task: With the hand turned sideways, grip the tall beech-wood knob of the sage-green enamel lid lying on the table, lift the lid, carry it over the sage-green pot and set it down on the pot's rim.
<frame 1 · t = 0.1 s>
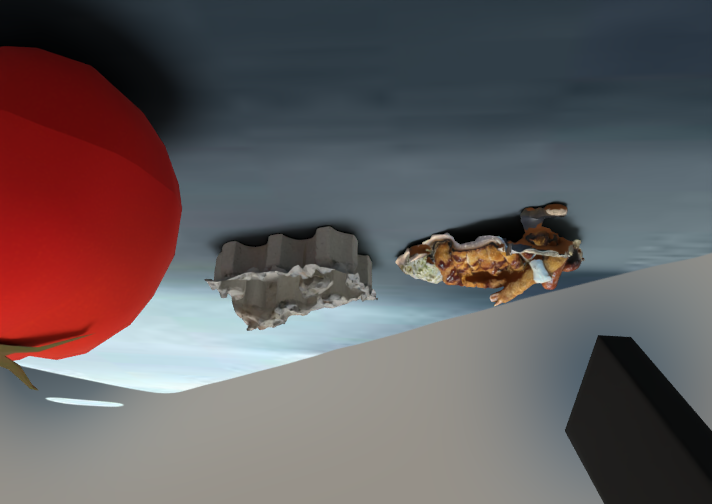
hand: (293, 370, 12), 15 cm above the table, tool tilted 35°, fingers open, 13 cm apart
egg carton: (294, 252, 41), on the table
tomato: (62, 86, 26), on the table
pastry: (485, 244, 39), on the table
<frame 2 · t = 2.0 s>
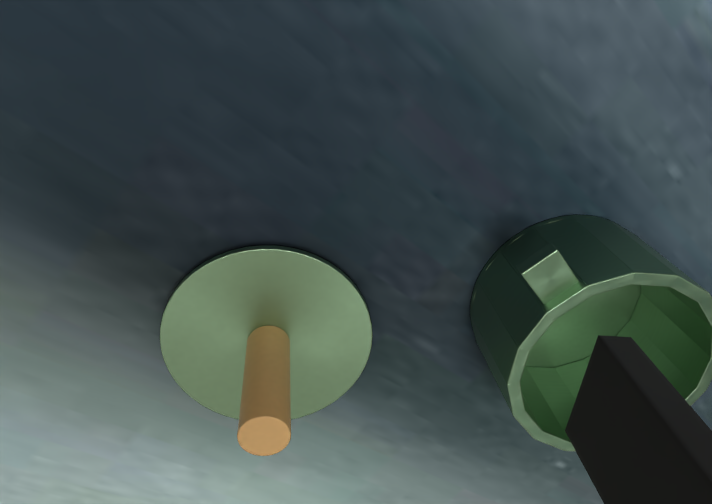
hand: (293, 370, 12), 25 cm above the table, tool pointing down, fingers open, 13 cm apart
lid: (268, 337, 41), point 1 cm above the table
pot: (558, 298, 43), on the table
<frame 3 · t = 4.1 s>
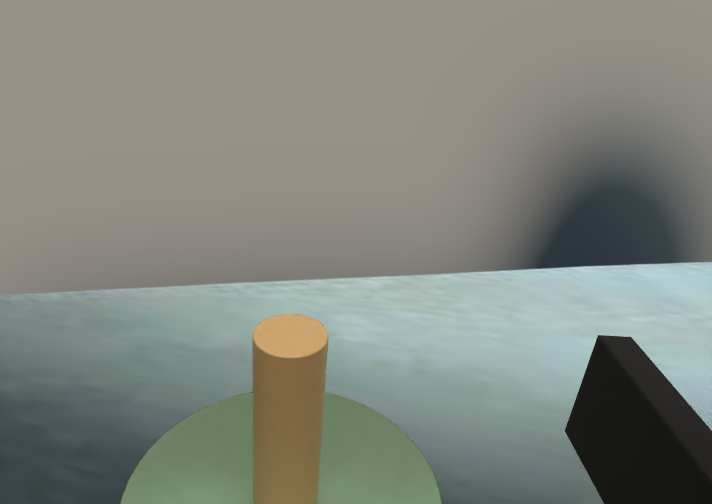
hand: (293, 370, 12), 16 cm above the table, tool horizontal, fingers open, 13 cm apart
lid: (285, 502, 27), point 1 cm above the table
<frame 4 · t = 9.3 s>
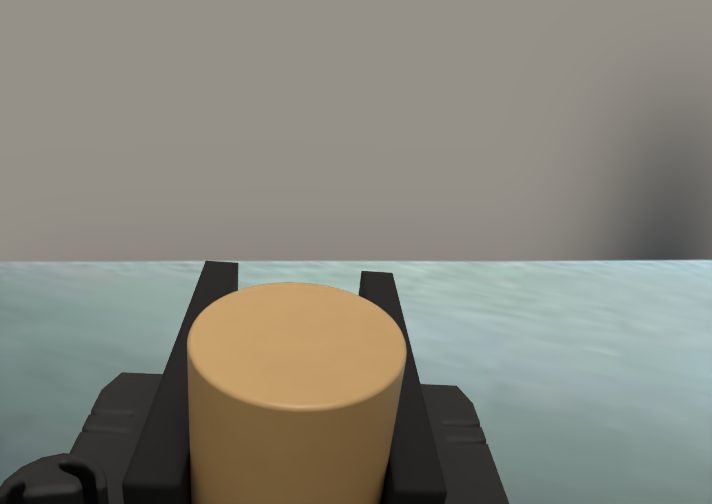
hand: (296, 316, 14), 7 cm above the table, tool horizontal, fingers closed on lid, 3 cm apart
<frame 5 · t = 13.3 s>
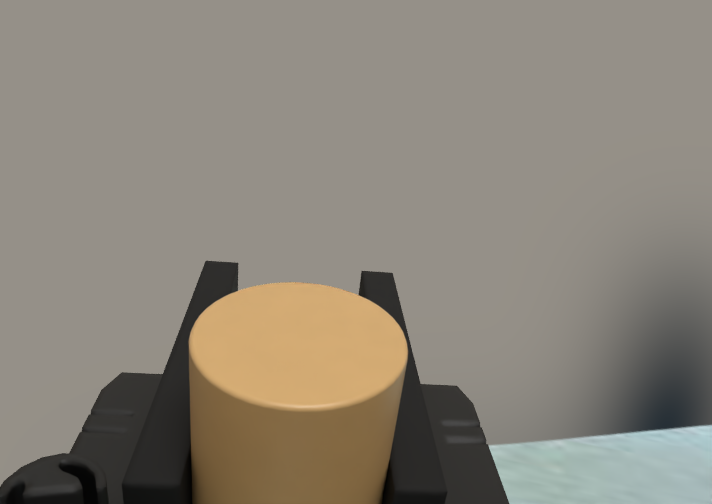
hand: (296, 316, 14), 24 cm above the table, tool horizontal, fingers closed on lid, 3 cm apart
when the fingers open (15 cm above the table, at t = 17.7 s): lid stays where it is, resting on pot.
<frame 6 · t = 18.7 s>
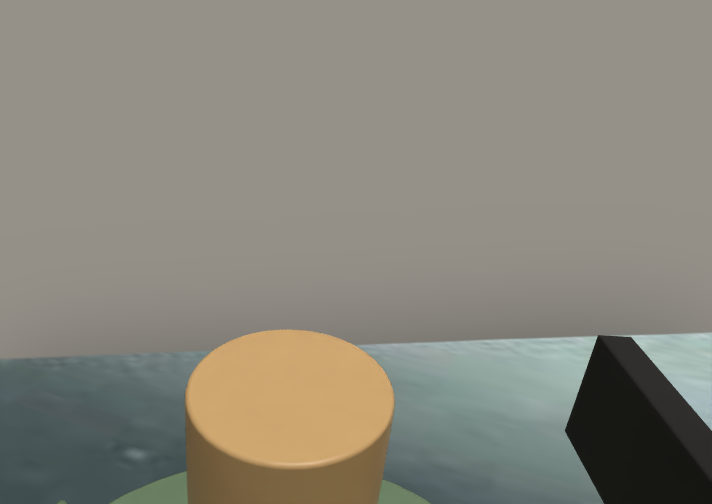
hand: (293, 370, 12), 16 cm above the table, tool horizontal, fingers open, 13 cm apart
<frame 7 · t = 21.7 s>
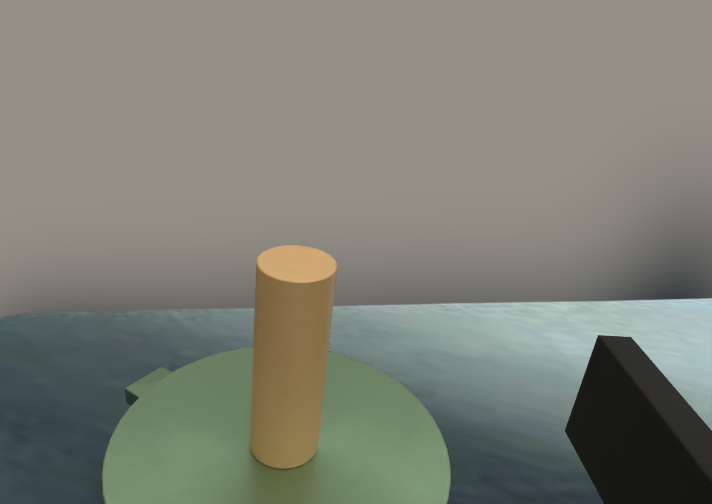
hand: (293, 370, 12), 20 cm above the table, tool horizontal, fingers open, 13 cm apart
lid: (283, 453, 26), point 8 cm above the table, touching pot
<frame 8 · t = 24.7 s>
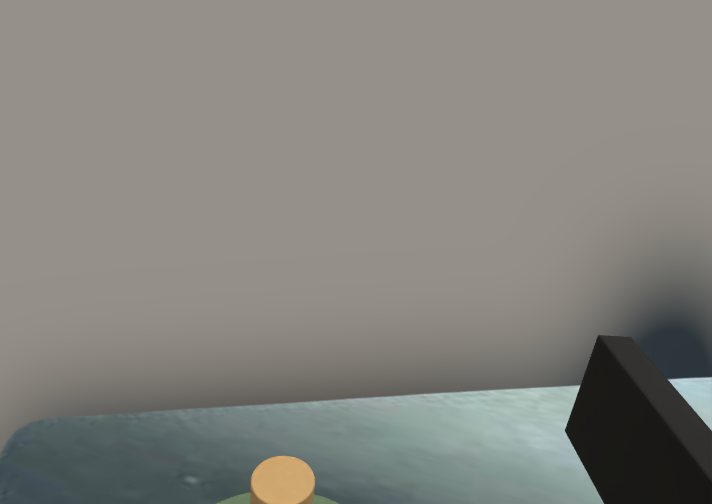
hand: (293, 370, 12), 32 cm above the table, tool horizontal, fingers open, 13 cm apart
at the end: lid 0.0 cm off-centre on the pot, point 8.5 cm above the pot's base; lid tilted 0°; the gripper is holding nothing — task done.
